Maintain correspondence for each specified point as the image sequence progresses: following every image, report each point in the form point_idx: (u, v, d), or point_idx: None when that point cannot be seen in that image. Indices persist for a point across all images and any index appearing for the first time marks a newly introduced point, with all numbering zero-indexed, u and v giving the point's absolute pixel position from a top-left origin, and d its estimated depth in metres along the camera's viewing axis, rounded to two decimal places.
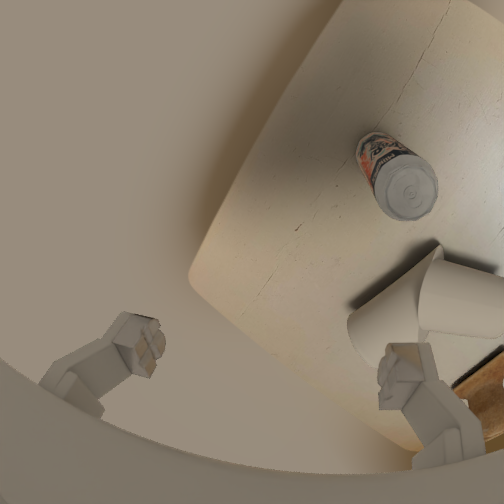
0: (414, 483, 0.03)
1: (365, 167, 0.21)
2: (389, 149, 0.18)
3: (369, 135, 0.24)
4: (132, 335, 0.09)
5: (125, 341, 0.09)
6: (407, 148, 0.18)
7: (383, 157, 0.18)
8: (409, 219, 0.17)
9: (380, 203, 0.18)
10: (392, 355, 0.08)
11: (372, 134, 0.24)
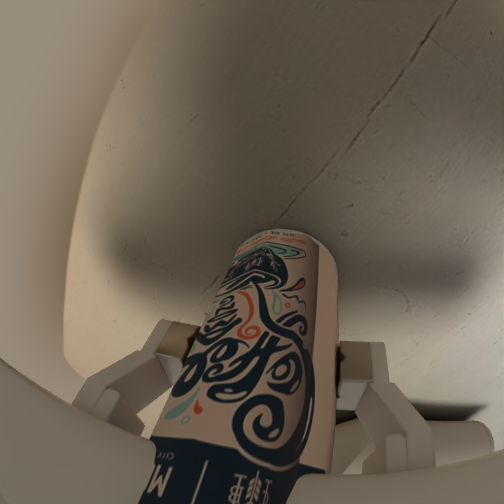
0: (414, 483, 0.03)
1: None
2: (194, 419, 0.05)
3: (257, 240, 0.11)
4: (177, 345, 0.08)
5: (170, 352, 0.08)
6: (277, 410, 0.05)
7: (157, 450, 0.05)
8: None
9: None
10: (341, 354, 0.08)
11: (262, 241, 0.11)
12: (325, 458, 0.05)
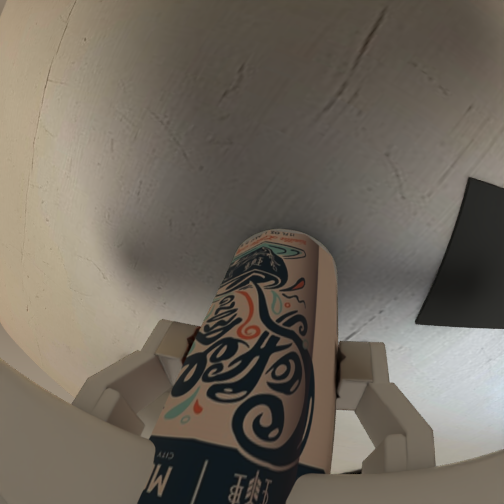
0: (414, 483, 0.03)
1: None
2: (193, 419, 0.05)
3: (257, 240, 0.11)
4: (177, 345, 0.08)
5: (170, 352, 0.08)
6: (277, 409, 0.05)
7: (157, 449, 0.05)
8: None
9: None
10: (341, 354, 0.08)
11: (262, 241, 0.11)
12: (325, 458, 0.05)
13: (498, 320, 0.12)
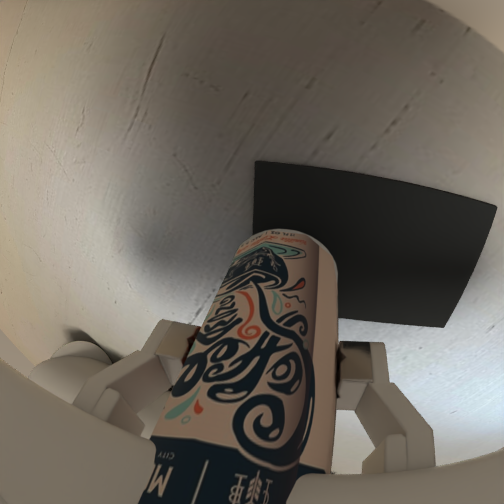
0: (414, 483, 0.03)
1: None
2: (194, 419, 0.05)
3: (258, 240, 0.11)
4: (177, 345, 0.08)
5: (170, 352, 0.08)
6: (278, 410, 0.05)
7: (157, 450, 0.05)
8: None
9: None
10: (341, 354, 0.08)
11: (262, 241, 0.11)
12: (325, 458, 0.05)
13: (358, 311, 0.15)
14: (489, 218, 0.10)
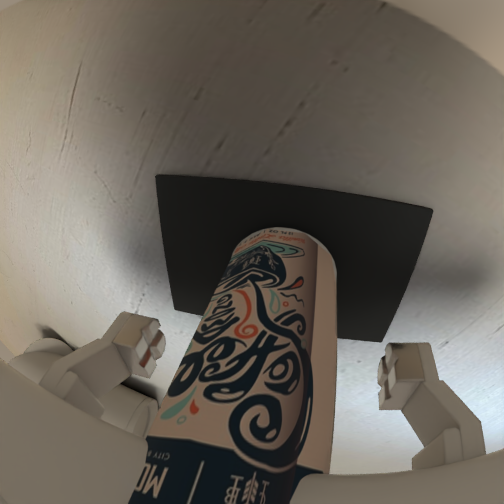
0: (414, 483, 0.03)
1: None
2: (190, 419, 0.05)
3: (256, 239, 0.11)
4: (132, 335, 0.09)
5: (125, 341, 0.09)
6: (275, 410, 0.05)
7: (153, 450, 0.05)
8: None
9: None
10: (392, 355, 0.08)
11: (260, 239, 0.11)
12: (323, 459, 0.05)
13: None
14: (423, 223, 0.11)
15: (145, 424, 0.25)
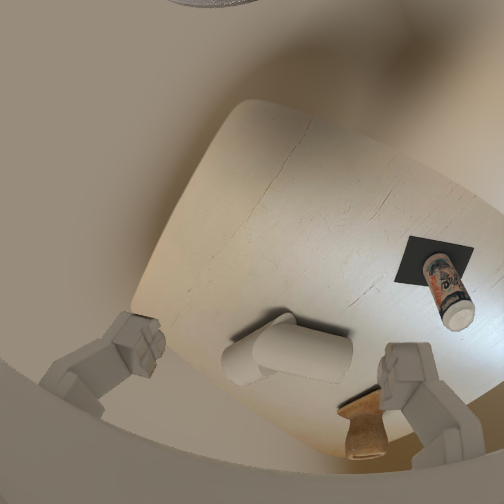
0: (414, 483, 0.03)
1: (435, 290, 0.32)
2: (454, 288, 0.29)
3: (436, 256, 0.35)
4: (132, 335, 0.09)
5: (125, 341, 0.09)
6: (462, 286, 0.29)
7: (451, 295, 0.28)
8: (455, 330, 0.28)
9: (444, 322, 0.28)
10: (392, 355, 0.08)
11: (438, 257, 0.35)
12: None
13: None
14: (471, 251, 0.34)
15: None
